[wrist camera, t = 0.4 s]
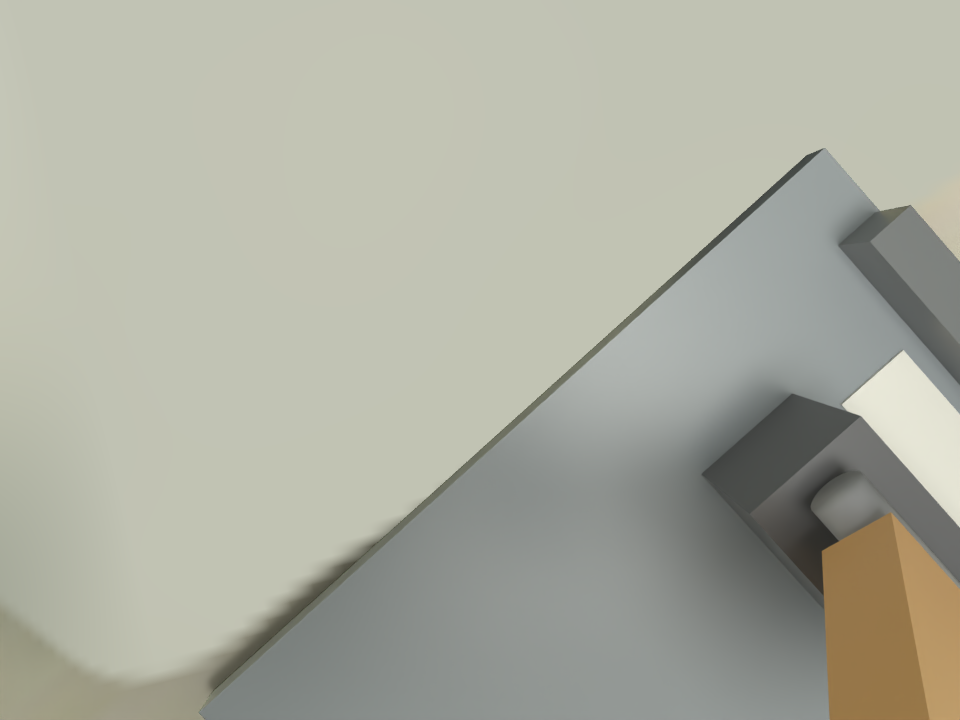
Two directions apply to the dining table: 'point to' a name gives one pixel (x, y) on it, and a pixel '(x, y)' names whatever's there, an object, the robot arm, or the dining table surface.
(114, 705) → the dining table surface
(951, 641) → the lever
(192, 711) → the dining table surface
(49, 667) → the dining table surface
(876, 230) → the switch board
